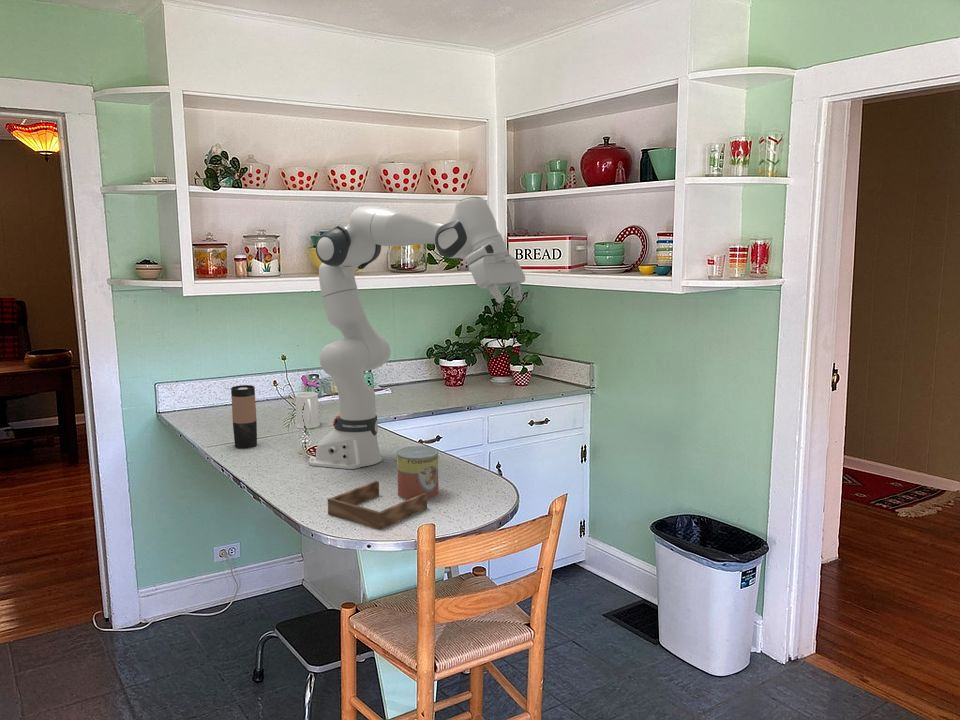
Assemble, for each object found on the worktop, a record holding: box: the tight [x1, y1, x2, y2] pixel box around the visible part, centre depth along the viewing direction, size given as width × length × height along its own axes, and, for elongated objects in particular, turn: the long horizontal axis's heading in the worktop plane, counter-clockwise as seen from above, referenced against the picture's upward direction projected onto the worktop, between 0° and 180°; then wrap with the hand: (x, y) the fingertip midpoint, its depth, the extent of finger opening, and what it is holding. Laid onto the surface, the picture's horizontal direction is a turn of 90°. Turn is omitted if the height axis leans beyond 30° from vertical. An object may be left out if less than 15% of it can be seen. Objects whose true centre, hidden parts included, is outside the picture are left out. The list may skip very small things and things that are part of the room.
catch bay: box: [327, 480, 428, 530], centre depth 207 cm, size 18×18×4 cm
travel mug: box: [230, 384, 258, 450], centre depth 267 cm, size 8×8×20 cm
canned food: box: [396, 445, 440, 501], centre depth 220 cm, size 11×11×12 cm
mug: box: [294, 391, 321, 430], centre depth 292 cm, size 12×8×12 cm
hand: (510, 300), depth 212 cm, fingers open, 8 cm apart
